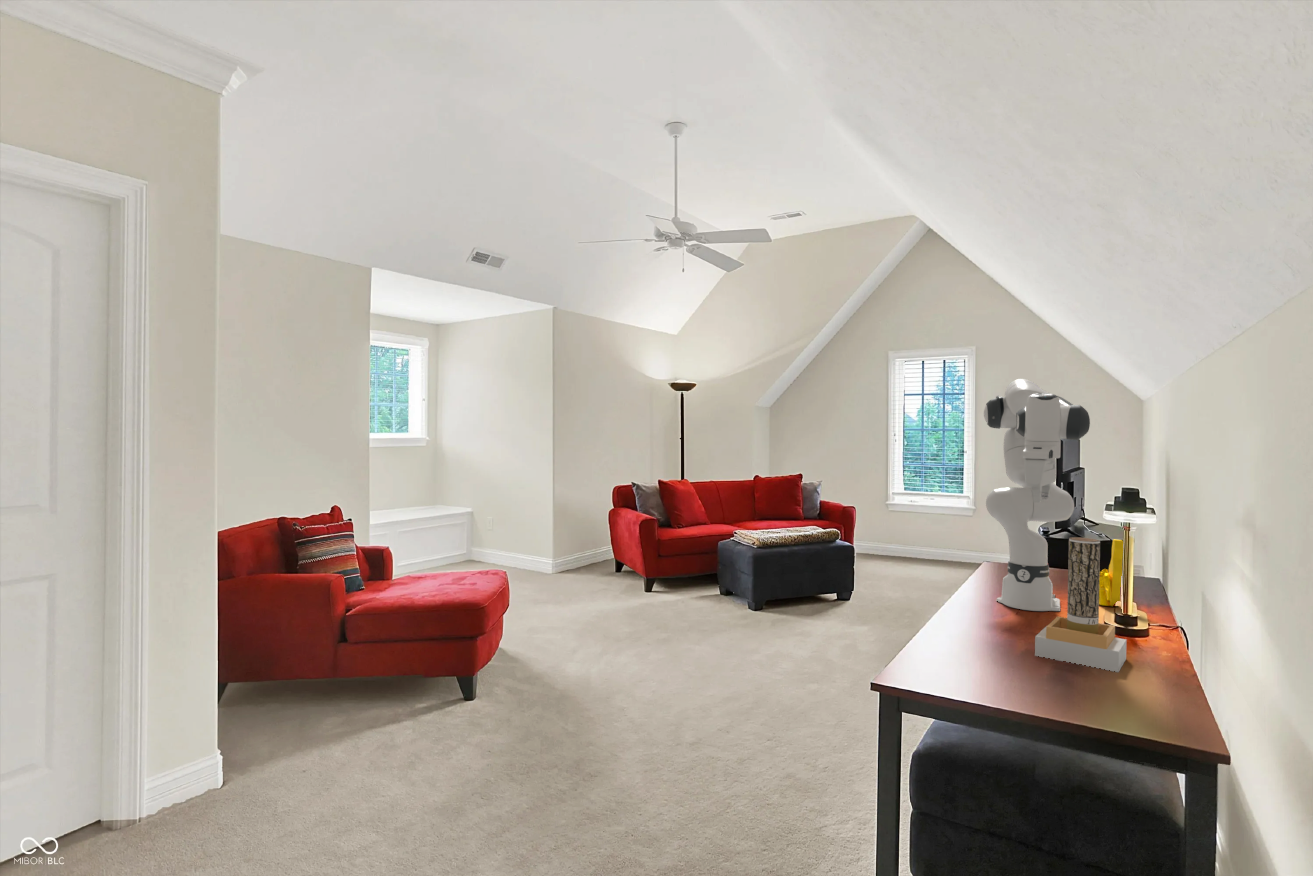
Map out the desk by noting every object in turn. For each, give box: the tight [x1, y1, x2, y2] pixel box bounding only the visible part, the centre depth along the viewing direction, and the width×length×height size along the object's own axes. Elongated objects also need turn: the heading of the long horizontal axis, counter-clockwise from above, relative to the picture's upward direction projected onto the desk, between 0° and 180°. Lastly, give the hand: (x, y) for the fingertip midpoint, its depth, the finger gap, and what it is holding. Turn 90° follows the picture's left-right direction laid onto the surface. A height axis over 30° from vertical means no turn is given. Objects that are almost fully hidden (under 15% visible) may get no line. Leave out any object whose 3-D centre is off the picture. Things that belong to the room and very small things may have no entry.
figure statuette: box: [1099, 538, 1124, 607], centre depth 230 cm, size 18×8×22 cm, turn 158°
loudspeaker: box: [1034, 616, 1128, 673], centre depth 177 cm, size 13×18×8 cm
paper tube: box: [1066, 536, 1101, 634], centre depth 177 cm, size 7×7×25 cm
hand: (1041, 500), depth 195 cm, fingers open, 8 cm apart
